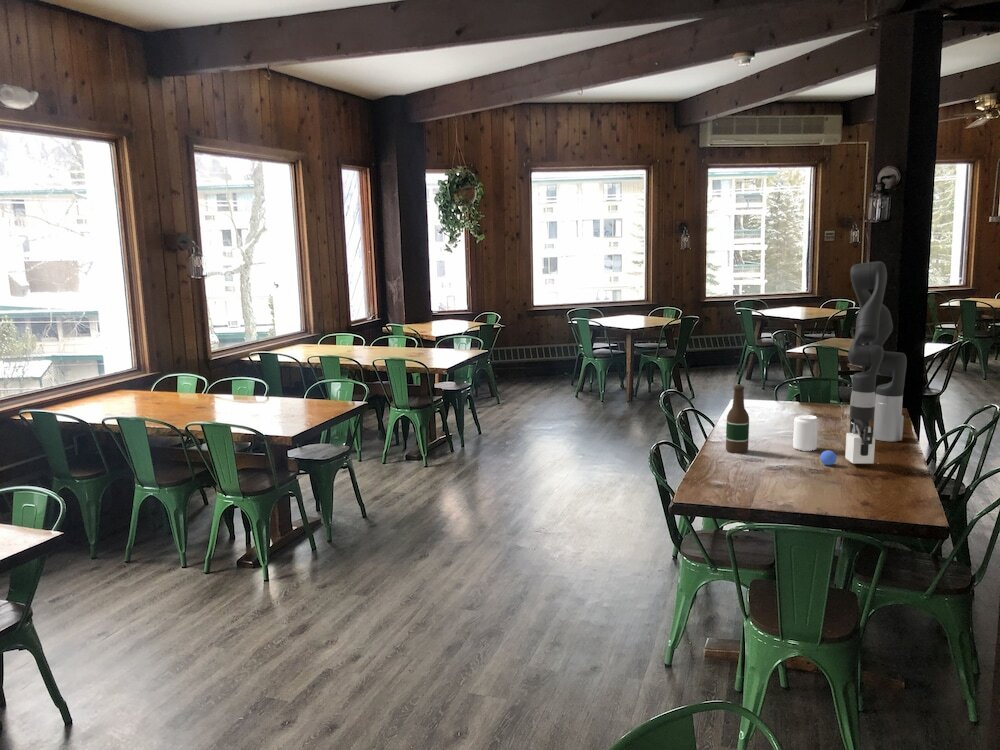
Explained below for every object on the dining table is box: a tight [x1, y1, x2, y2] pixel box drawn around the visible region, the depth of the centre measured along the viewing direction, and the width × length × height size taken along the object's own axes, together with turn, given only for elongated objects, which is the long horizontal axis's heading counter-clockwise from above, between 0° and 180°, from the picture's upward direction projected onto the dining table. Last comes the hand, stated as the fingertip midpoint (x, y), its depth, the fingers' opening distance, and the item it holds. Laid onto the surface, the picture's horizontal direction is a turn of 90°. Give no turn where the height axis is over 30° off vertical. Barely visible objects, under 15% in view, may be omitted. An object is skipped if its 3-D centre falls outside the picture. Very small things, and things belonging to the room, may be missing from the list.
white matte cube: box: [844, 432, 876, 464], centre depth 272 cm, size 7×7×9 cm
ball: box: [820, 450, 837, 466], centre depth 273 cm, size 5×5×5 cm
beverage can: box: [792, 414, 819, 452], centre depth 293 cm, size 8×8×12 cm
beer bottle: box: [725, 385, 750, 454], centre depth 290 cm, size 8×8×24 cm
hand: (859, 452), depth 272 cm, fingers closed on white matte cube, 7 cm apart
